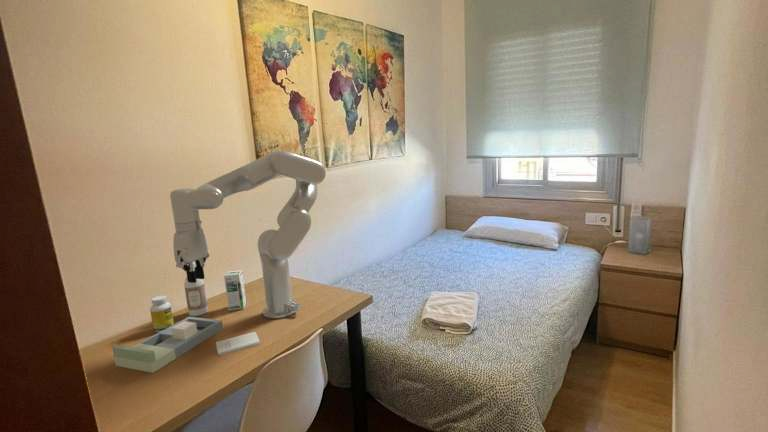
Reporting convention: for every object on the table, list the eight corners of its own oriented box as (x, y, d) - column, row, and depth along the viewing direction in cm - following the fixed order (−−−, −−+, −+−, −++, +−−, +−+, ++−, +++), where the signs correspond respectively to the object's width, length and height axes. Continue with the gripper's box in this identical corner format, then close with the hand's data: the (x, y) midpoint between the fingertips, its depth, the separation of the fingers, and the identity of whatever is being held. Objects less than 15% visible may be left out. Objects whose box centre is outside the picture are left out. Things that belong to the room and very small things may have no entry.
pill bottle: (165, 333, 138) (160, 301, 136) (149, 332, 140) (143, 301, 138) (178, 324, 145) (173, 294, 142) (163, 324, 146) (157, 294, 144)
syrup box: (228, 311, 154) (223, 275, 152) (232, 305, 160) (227, 270, 157) (243, 309, 155) (238, 273, 152) (246, 303, 161) (242, 269, 158)
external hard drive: (260, 345, 126) (218, 357, 121) (255, 335, 134) (216, 345, 128) (259, 341, 126) (217, 352, 121) (255, 331, 133) (215, 341, 128)
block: (197, 332, 130) (195, 322, 130) (185, 339, 126) (183, 329, 125) (185, 331, 132) (184, 321, 131) (173, 338, 127) (171, 328, 127)
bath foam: (186, 317, 150) (178, 267, 147) (191, 310, 157) (183, 262, 153) (206, 315, 152) (198, 264, 148) (210, 308, 158) (202, 259, 155)
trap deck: (223, 328, 139) (220, 312, 138) (152, 372, 113) (149, 353, 112) (190, 324, 144) (187, 308, 143) (115, 365, 118) (112, 347, 117)
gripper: (198, 221, 138) (206, 272, 142) (158, 232, 123) (167, 288, 127) (215, 221, 136) (222, 273, 139) (176, 232, 121) (185, 290, 124)
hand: (196, 280), depth 133 cm, fingers open, 2 cm apart
